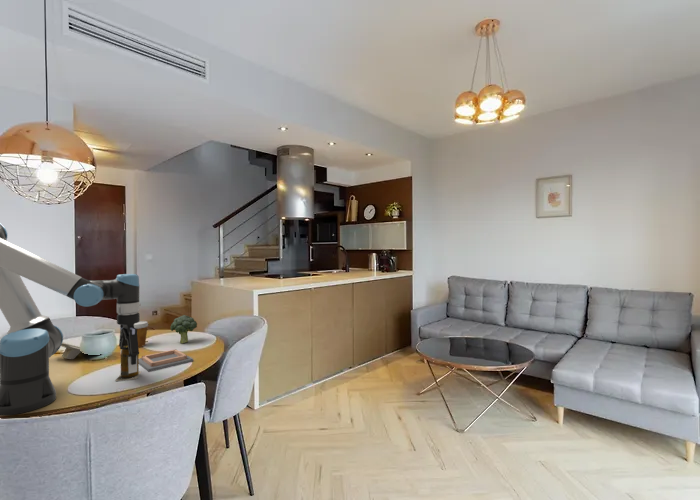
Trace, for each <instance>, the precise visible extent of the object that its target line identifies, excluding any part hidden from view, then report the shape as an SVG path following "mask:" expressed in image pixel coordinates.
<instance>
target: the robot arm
mask: <svg viewBox="0 0 700 500" xmlns="http://www.w3.org/2000/svg"><path fill="white" fill-rule="evenodd" d="M22 277H23V278H25V279H27V280H29V281H32V282H34V283H36V284H39V285H40V286H42V287H45V288H47V289H49V290H52V291H54V292H56V293H58V294H61V295H63V296H66V297H68V298H69V299H70V300H74V302H75V303H76V304H77V305H79V306H82V307H87V308H88V307H93V306H96V305H98V303H100V302H101V301H104V300H115V299H116V314H117V315H116V324H117V325H120V326H119V343H118V347H119V349H120V354H121V353H122V347H123V346H125V345H128V349H129V355H128V356H127V357H129V373H134V372H137V355H138V354H139V355H140V350H139V348H140V347H138V338H137V328H136V329H135V328H134V324H135V323H138V322H139V321H141V319H140V313H139V312H140V307H141V303H140V277H139V275H138V274H136V273H123V274H117V275H116V278H115V279H103V280H101V279H100V280H99V279H98V280H89V279H86V278H84V277H82V276H81V275H78V274H76V273H73V272H72V271H69V270H67V269H65V268H63V267H61V266H59V265H57V264H56V263H53V262H52V261H49V260H47V259H45V258H42V257H41V256H38V255H36V254H34V253H32V252H30V251H28V250H26V249H24V248H22V247H19V246H18V245H15V244H13V243H11V242H9V241H8V230H7V229H6V227H5V226H4V225H3V224H2V223H1V222H0V311H1V313H2V315H3V317H4V318H5V320H6V321H7V323H8V326H9V330H8V332H7V334H5V335H3V336H2V337H1V338H0V416H13V415H19V414H23V413H27V412H28V413H29V412H31V411H35V410H37V409H41V408H44V407H45V406H47V405H50V404H51V403H53V402H54V401H55V400H56V398H57V390H56V388H55V386H54V384H53V382H52V379H51V377H50V358H51V356H53V355H54V354H56V353H57V352H58V351H59V350H60V348H61V347H62V346H61V345H62V342H64V334H63V331H62V330H61V329H60V328H59V327H58V326H57V325H54V324H53V322H52V320H51V319H50V316H46V315H43V314H42V313H41V312H40V310H39V308H38V306H37V305H36V302H35V301H34V299H33V297H32V295H31V294H30V292H29V290H28V288H27V286H26V284H25V283H24V280H23V279H22Z"/></svg>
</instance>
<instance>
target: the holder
mask: <svg viewBox="0 0 700 500" xmlns="http://www.w3.org/2000/svg"><path fill="white" fill-rule="evenodd" d="M138 359H139V361H138V362H139V366H141V367H142V368H143V369H144V370H145V371H147V372H148V373H149V372H152V371H156V370H162V369H166V368H171V367H175V366H179V365H182V364H186V363H192V362H194V358H192V357H191V356H188V355H187V354H185V353H183V352H182V351H180V350H178V349H171V350H166V351H161V352H156V353H151V354H146V355H142V356H141V358H138Z"/></svg>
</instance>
